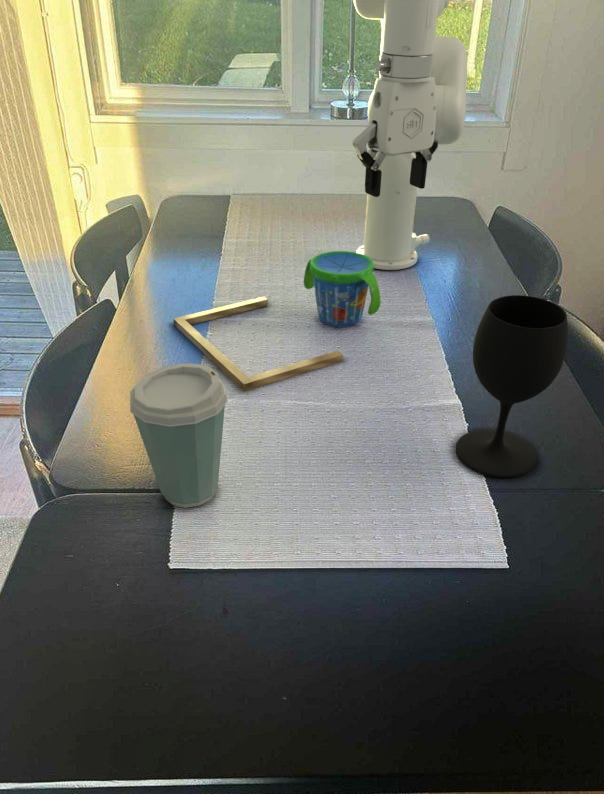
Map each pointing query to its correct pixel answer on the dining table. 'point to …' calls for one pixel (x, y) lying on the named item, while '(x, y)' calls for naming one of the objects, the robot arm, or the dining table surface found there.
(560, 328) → the wine glass
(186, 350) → the dining table surface
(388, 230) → the robot arm
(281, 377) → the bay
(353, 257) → the snack cup
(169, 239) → the dining table surface
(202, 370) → the disposable coffee cup
